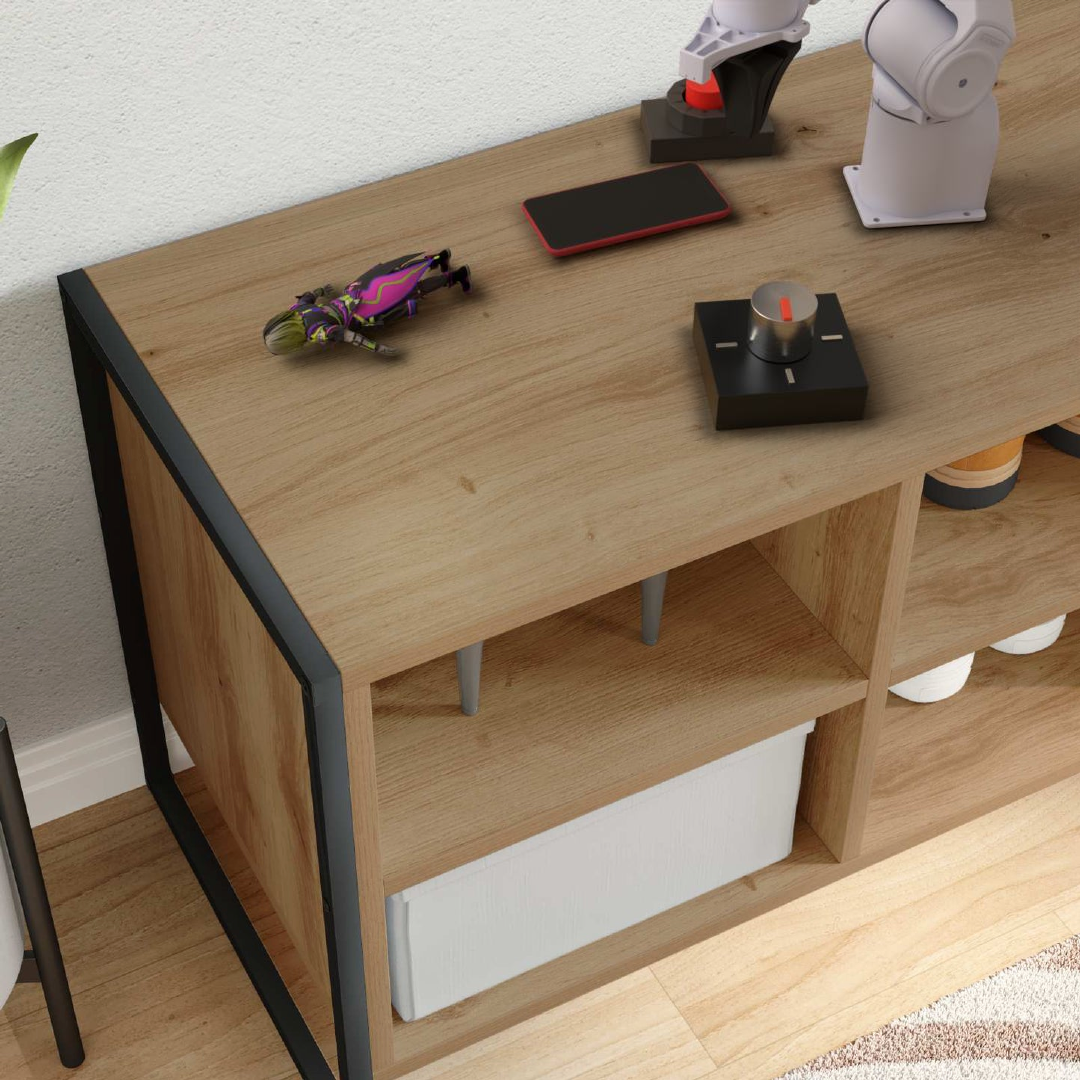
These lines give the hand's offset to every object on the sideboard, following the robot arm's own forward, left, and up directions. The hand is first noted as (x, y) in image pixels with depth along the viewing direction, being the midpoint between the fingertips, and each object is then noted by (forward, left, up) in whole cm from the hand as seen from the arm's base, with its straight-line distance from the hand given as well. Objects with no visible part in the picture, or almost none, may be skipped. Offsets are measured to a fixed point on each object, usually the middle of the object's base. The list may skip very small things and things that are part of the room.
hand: (744, 130), depth 113 cm
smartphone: (+8, -4, -10) cm, 13 cm away
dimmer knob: (0, +16, -6) cm, 17 cm away
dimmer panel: (0, +16, -9) cm, 19 cm away
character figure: (+28, +7, -10) cm, 30 cm away
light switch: (0, -14, -9) cm, 17 cm away
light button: (0, -14, -6) cm, 15 cm away
